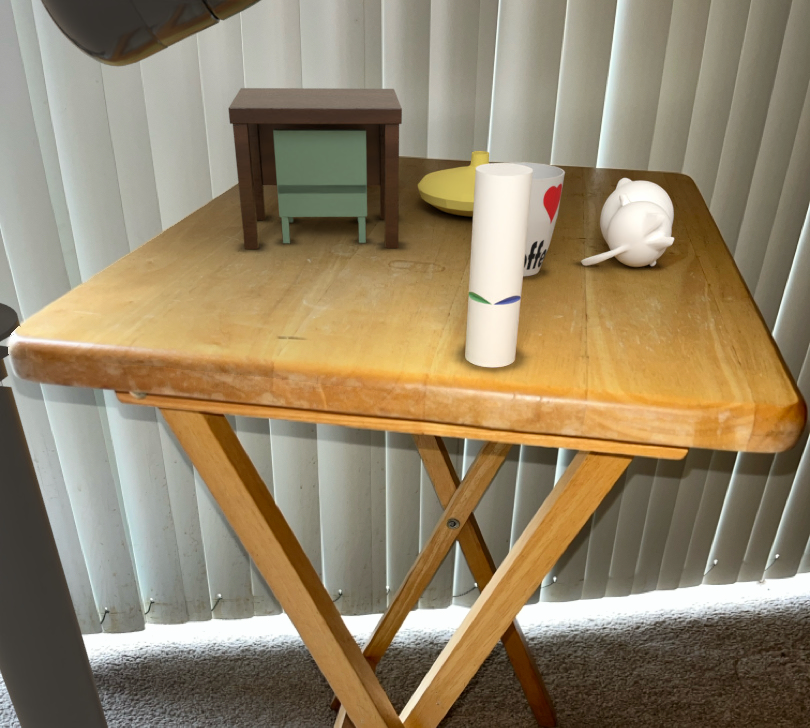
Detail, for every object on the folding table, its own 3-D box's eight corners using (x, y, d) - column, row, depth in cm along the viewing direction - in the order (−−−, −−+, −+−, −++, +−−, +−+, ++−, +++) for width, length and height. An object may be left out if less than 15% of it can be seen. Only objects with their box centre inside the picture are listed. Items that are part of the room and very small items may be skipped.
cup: (496, 284, 87) (503, 181, 81) (467, 260, 93) (472, 164, 87) (566, 277, 89) (579, 176, 83) (533, 254, 95) (543, 159, 89)
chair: (367, 243, 98) (366, 130, 91) (281, 244, 97) (273, 130, 90) (365, 219, 106) (363, 114, 99) (285, 220, 105) (278, 114, 98)
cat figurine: (662, 183, 83) (652, 154, 93) (563, 236, 88) (564, 203, 97) (694, 260, 87) (682, 225, 97) (599, 307, 92) (596, 269, 101)
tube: (467, 345, 74) (478, 161, 65) (516, 349, 73) (534, 164, 64) (462, 365, 70) (472, 174, 62) (513, 369, 70) (531, 177, 61)
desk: (400, 248, 96) (401, 108, 88) (242, 250, 95) (228, 107, 87) (393, 215, 108) (394, 88, 99) (252, 216, 107) (240, 88, 98)
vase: (561, 219, 107) (568, 160, 103) (452, 233, 102) (455, 171, 97) (498, 191, 119) (502, 137, 115) (397, 202, 113) (397, 145, 109)
